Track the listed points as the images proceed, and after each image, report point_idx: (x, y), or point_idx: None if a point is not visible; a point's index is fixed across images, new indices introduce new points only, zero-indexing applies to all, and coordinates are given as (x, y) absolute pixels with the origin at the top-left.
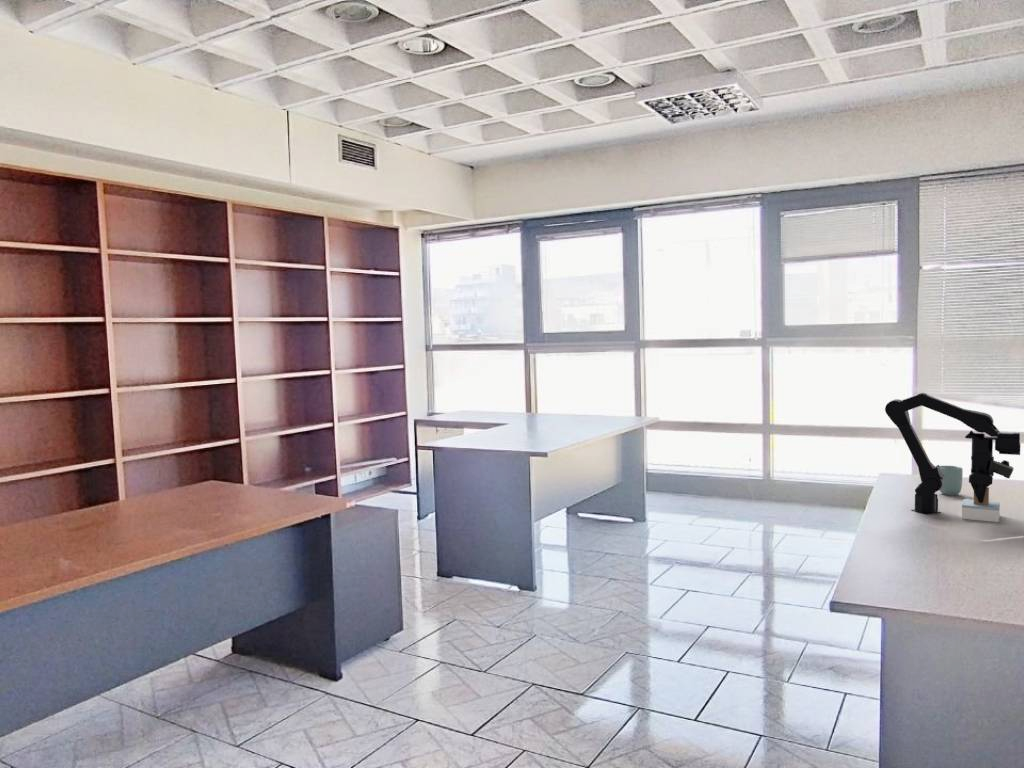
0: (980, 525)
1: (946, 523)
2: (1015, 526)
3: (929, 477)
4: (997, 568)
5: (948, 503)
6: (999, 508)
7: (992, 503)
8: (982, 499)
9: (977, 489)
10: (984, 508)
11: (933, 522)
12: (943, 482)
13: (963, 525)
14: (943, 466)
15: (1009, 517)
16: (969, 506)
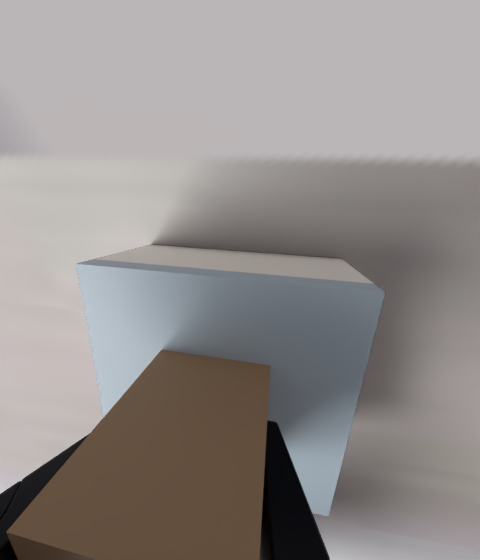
0: (428, 356)
1: (420, 483)
2: (401, 160)
3: None
4: None
5: (7, 413)
6: (227, 269)
7: (169, 325)
8: (287, 458)
9: None
10: (351, 390)
11: (412, 521)
12: None
13: (452, 429)
14: None
15: (135, 192)
16: (336, 476)
